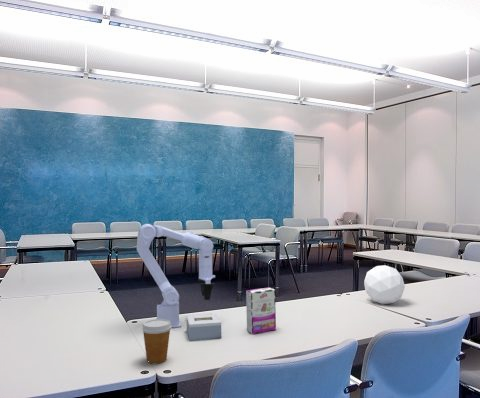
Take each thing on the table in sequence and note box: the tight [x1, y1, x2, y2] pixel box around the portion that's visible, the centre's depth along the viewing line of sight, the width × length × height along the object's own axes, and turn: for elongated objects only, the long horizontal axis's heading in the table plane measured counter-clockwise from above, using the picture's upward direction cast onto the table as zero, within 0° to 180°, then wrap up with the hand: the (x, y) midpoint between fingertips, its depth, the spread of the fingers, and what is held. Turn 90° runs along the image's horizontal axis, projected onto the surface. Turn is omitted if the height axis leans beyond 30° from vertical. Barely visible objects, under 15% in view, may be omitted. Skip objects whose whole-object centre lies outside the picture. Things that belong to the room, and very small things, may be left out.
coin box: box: [186, 313, 222, 342], centre depth 149 cm, size 12×12×6 cm
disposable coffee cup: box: [141, 318, 173, 364], centre depth 125 cm, size 10×10×12 cm
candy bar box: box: [245, 287, 277, 335], centre depth 154 cm, size 11×5×16 cm, turn 117°
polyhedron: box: [363, 264, 406, 305], centre depth 196 cm, size 19×20×20 cm
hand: (206, 297), depth 166 cm, fingers open, 7 cm apart
